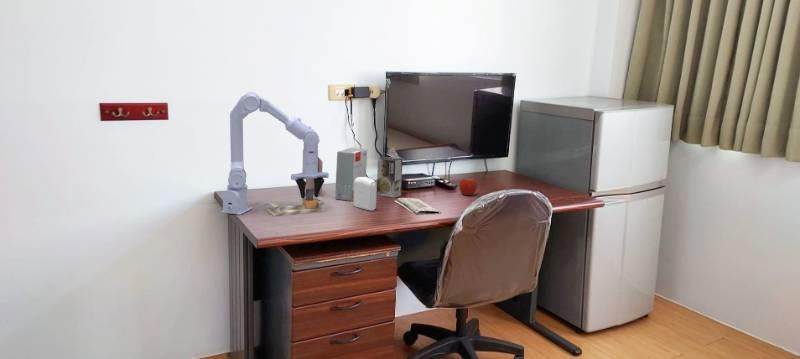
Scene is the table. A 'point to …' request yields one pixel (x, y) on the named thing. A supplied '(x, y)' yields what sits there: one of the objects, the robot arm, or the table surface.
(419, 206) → the newspaper
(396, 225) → the table surface
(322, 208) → the rail
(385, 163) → the coffee box
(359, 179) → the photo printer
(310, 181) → the greeting card
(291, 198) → the table surface
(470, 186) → the apple
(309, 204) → the carriage
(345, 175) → the hard drive box
